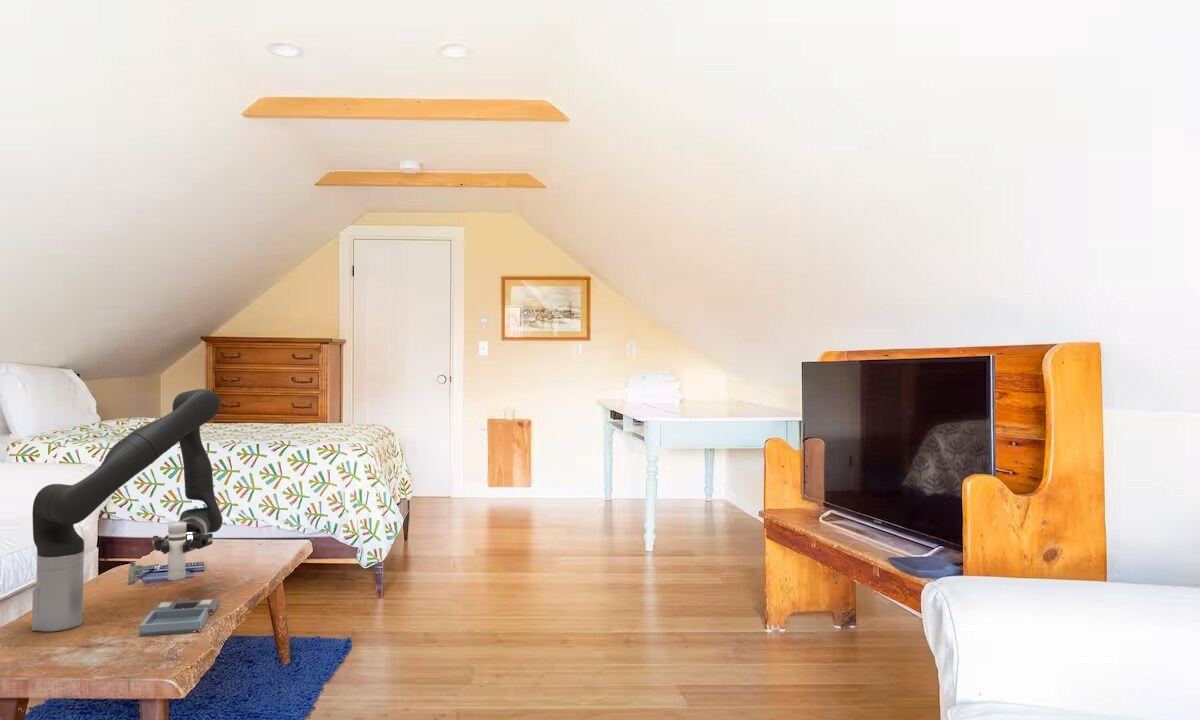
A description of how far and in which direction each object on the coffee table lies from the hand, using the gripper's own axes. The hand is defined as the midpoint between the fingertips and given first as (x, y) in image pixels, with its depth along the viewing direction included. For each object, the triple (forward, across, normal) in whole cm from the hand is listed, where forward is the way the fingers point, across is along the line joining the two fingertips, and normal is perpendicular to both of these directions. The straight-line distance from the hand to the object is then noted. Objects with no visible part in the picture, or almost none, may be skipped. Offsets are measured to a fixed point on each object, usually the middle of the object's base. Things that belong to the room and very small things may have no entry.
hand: (174, 548), depth 187 cm
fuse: (-3, 0, +8) cm, 8 cm away
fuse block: (-15, 0, +19) cm, 24 cm away
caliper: (-55, -18, +20) cm, 61 cm away
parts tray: (-3, 0, +19) cm, 19 cm away
